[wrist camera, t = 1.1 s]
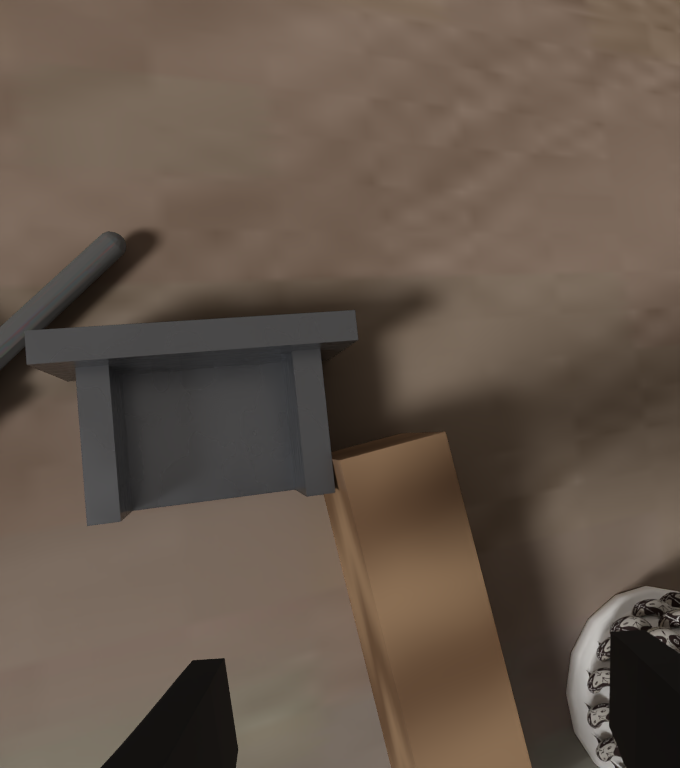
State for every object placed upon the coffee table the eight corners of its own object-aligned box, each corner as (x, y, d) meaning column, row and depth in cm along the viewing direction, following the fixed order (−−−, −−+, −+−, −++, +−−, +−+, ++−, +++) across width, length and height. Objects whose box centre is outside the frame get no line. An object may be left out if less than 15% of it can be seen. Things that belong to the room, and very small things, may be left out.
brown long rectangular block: (494, 810, 24) (567, 904, 19) (410, 848, 23) (463, 956, 18) (399, 433, 25) (445, 431, 20) (313, 456, 24) (340, 460, 19)
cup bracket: (341, 481, 24) (375, 492, 19) (77, 516, 21) (38, 538, 17) (325, 336, 24) (355, 310, 19) (65, 355, 22) (24, 330, 17)
